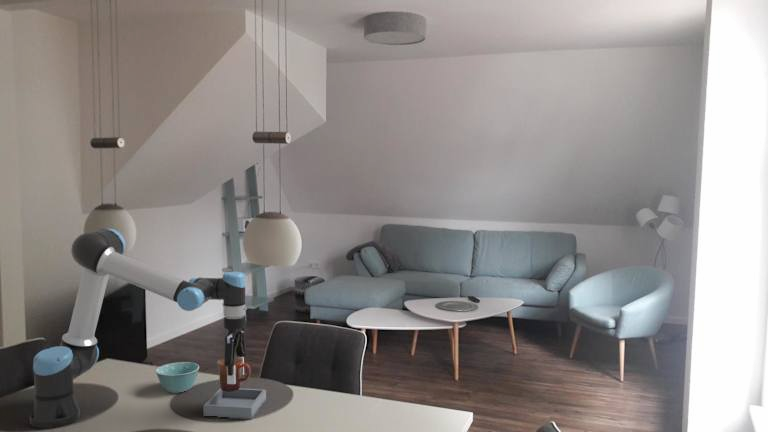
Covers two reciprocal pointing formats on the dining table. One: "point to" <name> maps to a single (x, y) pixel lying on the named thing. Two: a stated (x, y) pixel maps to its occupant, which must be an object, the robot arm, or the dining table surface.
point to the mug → (238, 378)
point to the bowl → (177, 376)
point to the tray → (235, 403)
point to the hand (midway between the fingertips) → (235, 379)
